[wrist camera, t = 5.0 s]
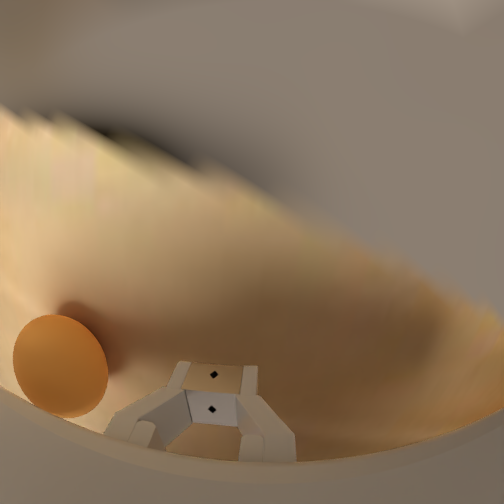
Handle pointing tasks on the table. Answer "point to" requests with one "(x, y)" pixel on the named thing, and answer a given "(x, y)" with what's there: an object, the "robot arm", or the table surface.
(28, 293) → the table surface
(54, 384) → the ball
